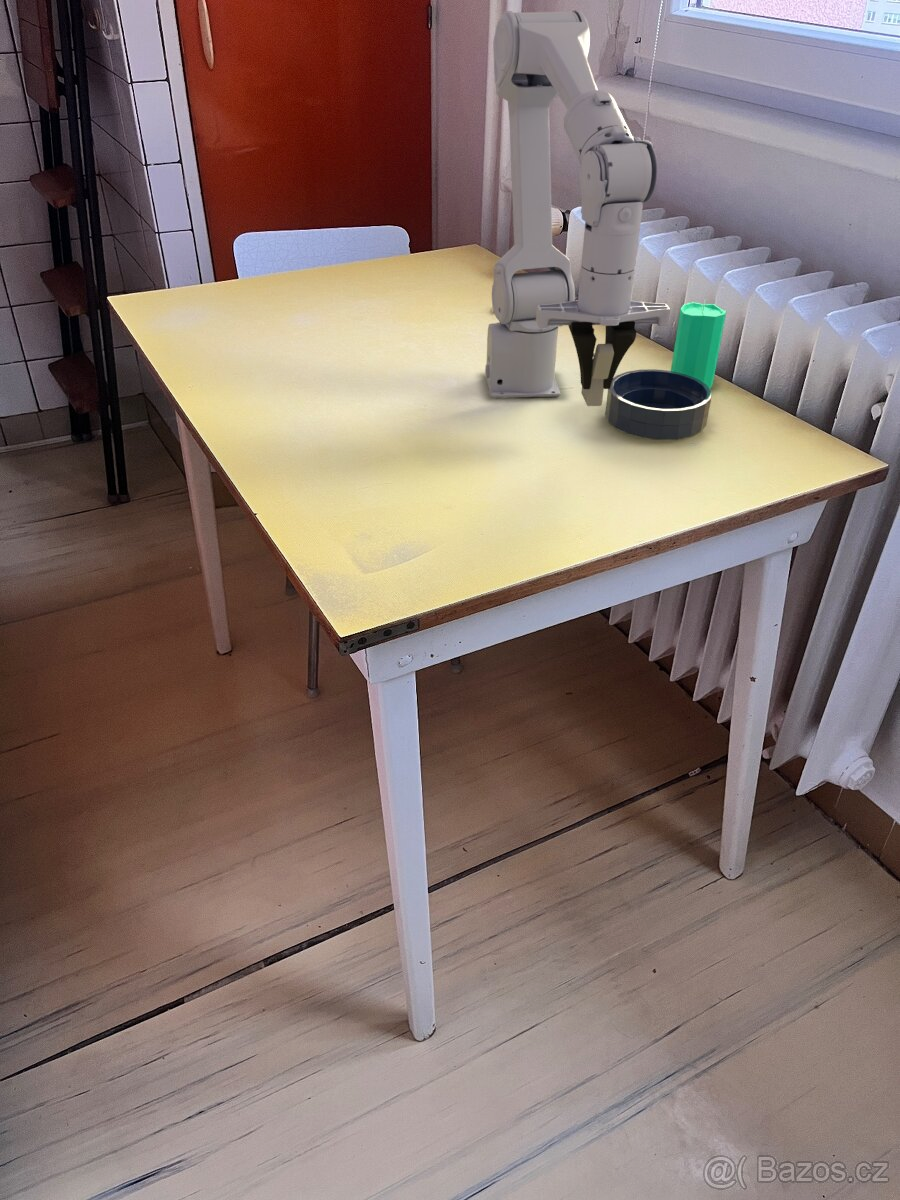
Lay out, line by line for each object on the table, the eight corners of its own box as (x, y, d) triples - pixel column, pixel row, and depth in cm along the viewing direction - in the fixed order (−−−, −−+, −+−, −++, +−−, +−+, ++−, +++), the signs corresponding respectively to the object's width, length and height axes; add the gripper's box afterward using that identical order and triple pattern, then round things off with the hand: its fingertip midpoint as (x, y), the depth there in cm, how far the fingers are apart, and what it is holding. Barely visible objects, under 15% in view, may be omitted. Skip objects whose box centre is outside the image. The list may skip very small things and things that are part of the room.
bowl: (616, 445, 115) (620, 411, 113) (596, 401, 126) (599, 370, 123) (718, 443, 116) (724, 409, 114) (689, 400, 126) (695, 368, 124)
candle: (713, 393, 128) (729, 307, 121) (668, 389, 129) (682, 303, 122) (712, 376, 133) (727, 292, 126) (669, 372, 134) (682, 288, 127)
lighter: (581, 392, 112) (587, 326, 107) (595, 392, 112) (602, 326, 108) (592, 416, 106) (599, 347, 102) (607, 416, 106) (614, 347, 102)
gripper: (546, 278, 96) (537, 401, 104) (684, 277, 97) (665, 399, 105) (536, 258, 102) (529, 376, 110) (667, 257, 103) (650, 374, 111)
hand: (595, 385), depth 108 cm, fingers closed on lighter, 2 cm apart
